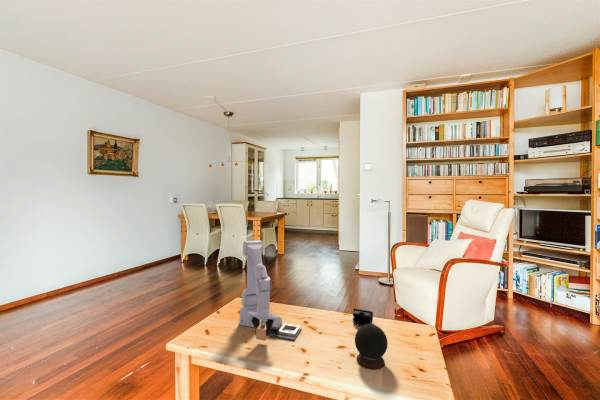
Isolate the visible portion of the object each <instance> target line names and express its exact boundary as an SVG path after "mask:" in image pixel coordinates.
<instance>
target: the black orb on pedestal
mask: <svg viewBox="0 0 600 400" xmlns="http://www.w3.org/2000/svg"><path fill="white" fill-rule="evenodd" d="M355 332H356V333H355V335H354V344H355V348H356V350H357V352H358V355H356V362H357V364H358V365H359V366H360V367H362V368H364V369H366V370H370V371H371V370H372V371H377V370H380V369H383V368H384V366H385V359H384V358H383V356H384V355H385V353H386V352H387V349H388V345H389V344H388V337H387V335H386V333H385V331H383V329H382V328H381V327H379V326H377V325H375V324H372V323H371V324H367V325H363V326H360V327H359V328H358V329H357V330H356V331H355Z"/></svg>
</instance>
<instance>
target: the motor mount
mask: <svg viewBox="0 0 600 400" xmlns="http://www.w3.org/2000/svg"><path fill="white" fill-rule="evenodd" d="M266 321H267V319H262V320H261V322H260V324H265V325H266V323H265V322H266ZM302 328H303V327H301V326H300V325H294V324H288V323H283V318H282V317H280V316H279V320H278V321H277V322H275V321H274V322H273V324H272V326H271V330H270V334H269V337H270V338H276V339H282V340H286V341H292V342H295V341H296V339H297V338H298V335H299V334H300V333H301V331H302ZM255 335H256V331H255ZM269 337H268V338H269Z"/></svg>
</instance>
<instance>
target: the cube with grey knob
mask: <svg viewBox="0 0 600 400" xmlns="http://www.w3.org/2000/svg"><path fill="white" fill-rule="evenodd" d="M255 332H256V334H255V340H258V341H267V339H268V338H269V336H266V325H265V324H261V323H260V325H259V326H258V327H257V328H256V331H255Z"/></svg>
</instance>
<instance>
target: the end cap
mask: <svg viewBox="0 0 600 400" xmlns="http://www.w3.org/2000/svg"><path fill="white" fill-rule="evenodd" d="M352 317H353V318H352V321H353V322H352V324H353V323H354V324H353V325H356V324H358V325H357V326H361V325H367V324H372V323H373V320H374V312H373V311H372V310H367V309H362V308H361V309H360V308H353V312H352Z"/></svg>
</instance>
